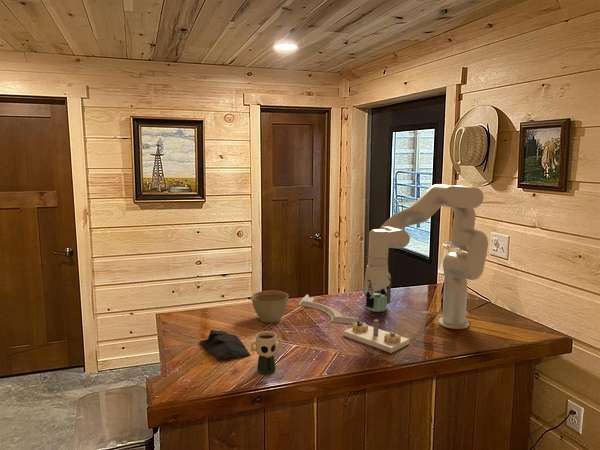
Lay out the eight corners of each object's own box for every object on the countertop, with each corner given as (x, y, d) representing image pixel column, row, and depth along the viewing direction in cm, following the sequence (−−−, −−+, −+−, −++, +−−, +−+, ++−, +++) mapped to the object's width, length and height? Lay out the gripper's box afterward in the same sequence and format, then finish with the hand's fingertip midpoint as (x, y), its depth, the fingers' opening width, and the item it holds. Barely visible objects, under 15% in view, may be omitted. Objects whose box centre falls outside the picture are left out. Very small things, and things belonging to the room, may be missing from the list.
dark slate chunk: (212, 365, 166) (211, 352, 166) (198, 342, 186) (198, 330, 186) (253, 357, 173) (253, 345, 172) (236, 336, 192) (235, 324, 192)
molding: (364, 324, 207) (364, 317, 206) (342, 329, 200) (343, 322, 200) (309, 298, 242) (309, 292, 241) (289, 302, 235) (289, 296, 234)
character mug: (254, 378, 156) (253, 341, 154) (248, 369, 162) (247, 333, 160) (285, 373, 160) (285, 336, 158) (277, 364, 166) (277, 329, 164)
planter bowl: (263, 311, 221) (263, 288, 219) (294, 316, 214) (294, 293, 212) (245, 322, 206) (244, 298, 205) (277, 328, 199) (277, 303, 198)
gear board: (362, 327, 200) (362, 309, 199) (408, 343, 184) (409, 324, 183) (343, 335, 192) (344, 316, 190) (391, 353, 176) (391, 332, 174)
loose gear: (374, 303, 191) (374, 291, 190) (390, 308, 186) (390, 295, 185) (363, 308, 185) (363, 296, 185) (379, 313, 180) (379, 300, 179)
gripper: (383, 256, 191) (381, 298, 194) (356, 263, 179) (354, 307, 182) (398, 259, 186) (396, 302, 189) (372, 266, 174) (370, 312, 177)
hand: (376, 304), depth 185 cm, fingers closed on loose gear, 7 cm apart
